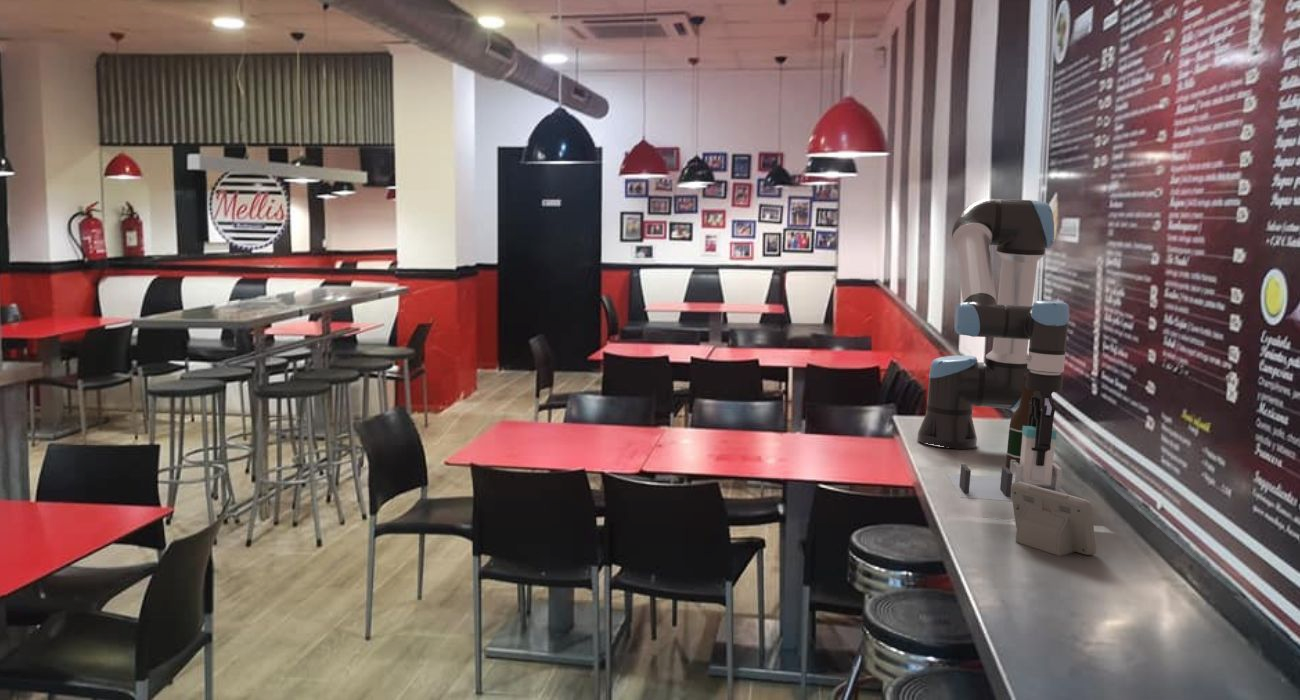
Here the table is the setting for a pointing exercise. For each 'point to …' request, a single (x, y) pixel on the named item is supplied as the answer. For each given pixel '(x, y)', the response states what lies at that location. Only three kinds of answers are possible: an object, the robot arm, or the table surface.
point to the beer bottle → (1018, 426)
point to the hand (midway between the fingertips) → (1034, 476)
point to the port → (1055, 479)
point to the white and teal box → (1027, 456)
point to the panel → (986, 487)
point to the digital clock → (1052, 520)
